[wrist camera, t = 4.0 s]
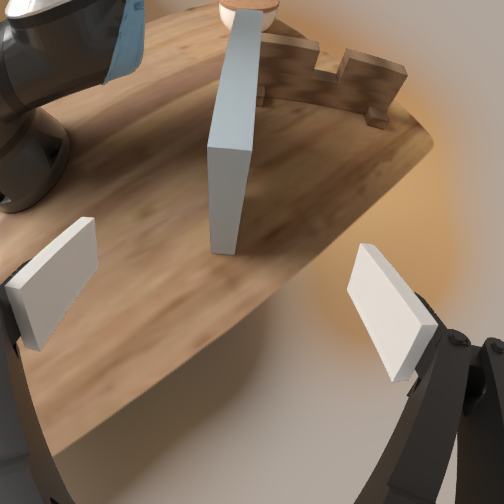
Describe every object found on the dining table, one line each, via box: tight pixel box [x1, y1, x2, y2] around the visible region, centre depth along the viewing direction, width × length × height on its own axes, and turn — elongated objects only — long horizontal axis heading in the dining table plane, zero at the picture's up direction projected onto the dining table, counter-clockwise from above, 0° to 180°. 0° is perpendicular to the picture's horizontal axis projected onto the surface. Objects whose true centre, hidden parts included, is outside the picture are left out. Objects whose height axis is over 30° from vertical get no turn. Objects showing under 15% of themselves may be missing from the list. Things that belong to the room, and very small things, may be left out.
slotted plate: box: [207, 9, 263, 255], centre depth 28 cm, size 18×2×18 cm, turn 177°
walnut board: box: [256, 33, 408, 129], centre depth 39 cm, size 22×7×10 cm, turn 87°
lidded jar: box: [219, 0, 280, 32], centre depth 44 cm, size 11×11×9 cm
